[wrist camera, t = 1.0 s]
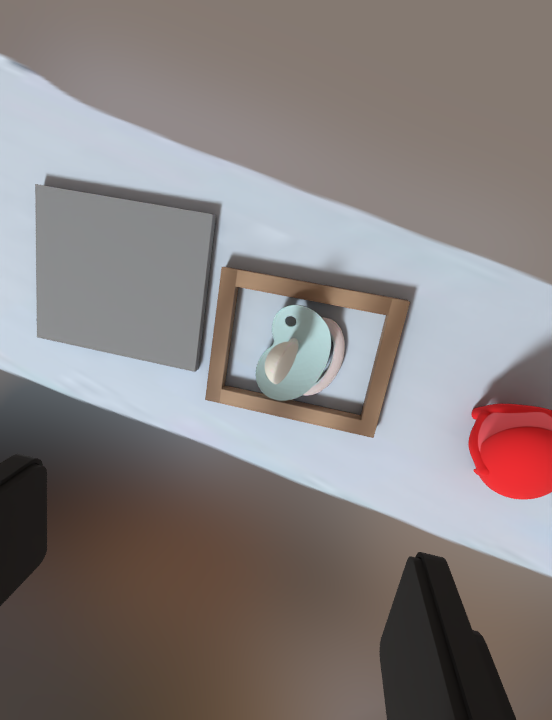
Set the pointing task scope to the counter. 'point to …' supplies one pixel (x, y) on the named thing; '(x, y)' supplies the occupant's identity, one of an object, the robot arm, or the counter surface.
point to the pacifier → (300, 355)
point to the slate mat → (122, 275)
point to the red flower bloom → (513, 449)
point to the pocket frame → (318, 293)
